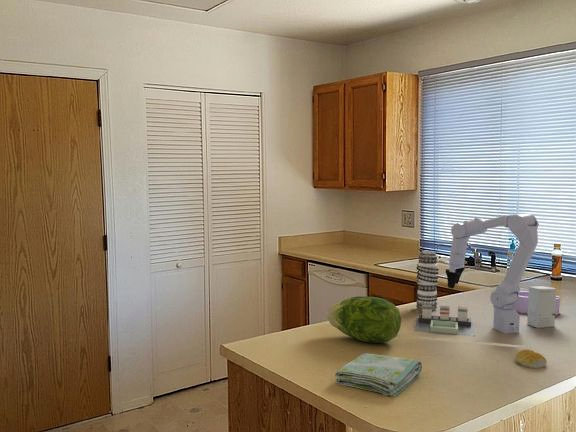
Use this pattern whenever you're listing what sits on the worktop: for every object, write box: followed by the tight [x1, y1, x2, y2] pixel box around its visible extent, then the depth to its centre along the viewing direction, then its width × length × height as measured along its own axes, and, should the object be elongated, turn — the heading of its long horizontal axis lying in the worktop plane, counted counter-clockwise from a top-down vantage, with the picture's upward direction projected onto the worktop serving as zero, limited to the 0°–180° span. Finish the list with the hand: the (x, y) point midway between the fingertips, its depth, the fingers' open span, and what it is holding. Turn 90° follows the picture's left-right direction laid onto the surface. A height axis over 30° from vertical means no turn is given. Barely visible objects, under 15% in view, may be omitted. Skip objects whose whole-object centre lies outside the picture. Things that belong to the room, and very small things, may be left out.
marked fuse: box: [439, 305, 450, 320], centre depth 211 cm, size 4×4×6 cm
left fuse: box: [421, 304, 433, 319], centre depth 212 cm, size 3×3×6 cm
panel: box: [413, 314, 476, 337], centre depth 206 cm, size 19×21×3 cm
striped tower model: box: [415, 250, 440, 312], centre depth 232 cm, size 9×9×25 cm
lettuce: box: [326, 295, 402, 344], centre depth 191 cm, size 15×27×16 cm, turn 60°
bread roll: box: [514, 349, 547, 369], centre depth 169 cm, size 8×9×4 cm
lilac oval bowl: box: [515, 290, 561, 316], centre depth 234 cm, size 20×12×7 cm, turn 59°
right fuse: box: [457, 306, 468, 321], centre depth 209 cm, size 3×3×6 cm
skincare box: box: [526, 285, 557, 329], centre depth 210 cm, size 8×6×15 cm
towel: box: [334, 352, 423, 397], centre depth 155 cm, size 18×21×5 cm
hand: (452, 285), depth 220 cm, fingers open, 7 cm apart
